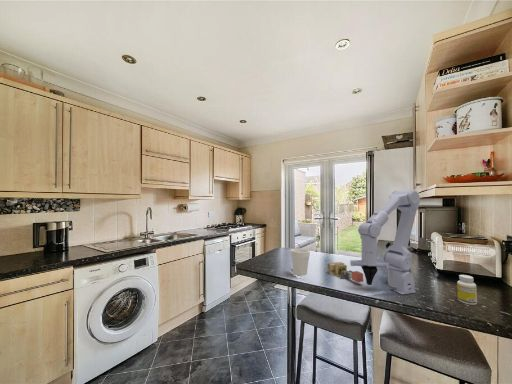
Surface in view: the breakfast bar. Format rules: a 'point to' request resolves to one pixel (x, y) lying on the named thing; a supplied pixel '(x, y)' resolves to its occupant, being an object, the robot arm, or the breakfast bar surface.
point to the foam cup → (300, 261)
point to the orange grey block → (354, 275)
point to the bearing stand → (342, 276)
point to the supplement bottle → (466, 290)
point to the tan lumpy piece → (337, 268)
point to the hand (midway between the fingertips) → (369, 284)
